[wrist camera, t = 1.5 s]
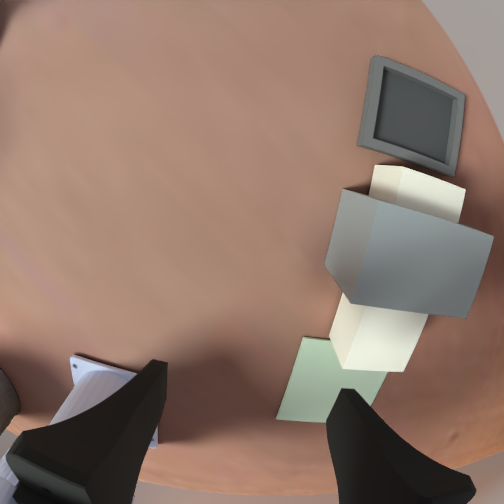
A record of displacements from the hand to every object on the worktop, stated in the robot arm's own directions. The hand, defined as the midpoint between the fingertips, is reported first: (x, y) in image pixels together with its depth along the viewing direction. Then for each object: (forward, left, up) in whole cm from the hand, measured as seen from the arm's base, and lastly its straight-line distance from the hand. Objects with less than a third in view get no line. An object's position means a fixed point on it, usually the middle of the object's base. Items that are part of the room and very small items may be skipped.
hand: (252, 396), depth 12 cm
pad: (-6, -8, -10) cm, 14 cm away
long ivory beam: (+4, -8, -10) cm, 13 cm away
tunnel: (+6, -8, -10) cm, 14 cm away
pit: (+14, -8, -10) cm, 19 cm away
